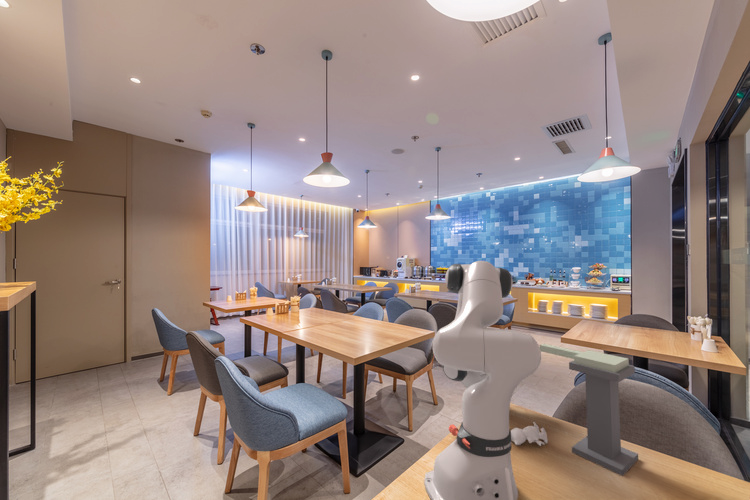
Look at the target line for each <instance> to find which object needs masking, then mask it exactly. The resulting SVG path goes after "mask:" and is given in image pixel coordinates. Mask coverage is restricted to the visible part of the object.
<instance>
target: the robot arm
mask: <svg viewBox="0 0 750 500" xmlns="http://www.w3.org/2000/svg"><path fill="white" fill-rule="evenodd" d="M444 279H445V285H446V288H447V289H448V291H449V292H451V293H453V294H457V295H458V299H457V306H456V312H455V317H454V320H452V321H451V322H450V323H449V324H447V325H445V326H443V327H441V328H439V329H438V331H437V332H436V333H435V335H434V336H433V337H434V338H433V339H432V340H433V341H432V352H433V356H434V357H435V360H436V361H437V362H438V364H439V365H441V367H442V371H443V373H444V375H445V376H446V377H447V378H448V379H450V380H451V381H454V382H460V383H461V385H462V386H463V387H464V388H466V389H465V390H464V391H463V394H462V399H461V400H462V404H461V407H462V409H461V411H462V421H461V423H460V426H459V428H457V427H456V425H455V424H450V425H449V427H448V431H449V433H451V435H452V436H453V437H456V438H455V440H453V441H452V442H451V443H450V444H448V446H446V447H445V448H444V449H443V450H442V451H441V452H440V453H439V454H437V456H436V457H435V460H434V465H433V469H432V470H430V471H427V472H425V475H424V480H423V481H424V486H425V491H426V493H427V495H428V496H429V499H431V500H518V498H519V491H518V486H517V484H516V480H515V477H514V471H513V464H512V456H511V451H512V446H513V445H512V442H513V441H512V440H511V429H510V409H511V408H510V407H511V402H512V401H511V400H512V397H513V394H514V393H515V391H516V389H517V387H519V386H520V384H521V383H522V382H523V381H524V380H526V379H527V378H528V377H531V376H532V375H534V374H535V373H536V372H537V371H538V369H539V367H540V365H541V362H542V351H540V344H539V343H538V342H537V340H536V339H535V338H534V337H533V335H531V334H530V333H526V332H522V331H519V330H514V329H507V328H506V329H505V328H492V327H491V326H492V325H493V326H494V325H495V324H496V323H497V322H499V320H500V319H501V318H502V316H503V315H504V303H503V299H504V298H506V297H508V296H509V295H510V294H511V291H512V289H513V285H514V284H513V283H514V282H513V277H512V274H511V272H510V271H509V270H508V269H506V268H502V267H495V266H494V264H492V263H490V262H489V261H486V260H477V261H473V262H472V263H469V264H468V263H467V264H461V263H453V264H451V265H449V266H448V269H447V271H446V273H445V276H444ZM490 327H491V328H490Z"/></svg>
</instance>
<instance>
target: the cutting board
mask: <svg viewBox="0 0 750 500" xmlns="http://www.w3.org/2000/svg"><path fill="white" fill-rule="evenodd" d="M539 347H540V351H541V353H542V352H543V353H547V354H551V355H556V356H559V357H564V358H567V359H571V360H573V361H574V363H578V364H582V365H586V366H590V367H594V368H598V369H602V370H606V371H610V372H614V373H616V372H618V371H620V370H622V369H623V368H625V367H627V366H629V365H630V363H629V362H630V361H629V358H628V357H623V356H619V355H613V354H608V353H605V352H604V353H603V352H600V351H593V350H585V351H581V350H575V349H571V348H566V347H563V346H562V347H561V346H557V345H552V344H547V343H542V344H539Z"/></svg>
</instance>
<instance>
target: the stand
mask: <svg viewBox="0 0 750 500" xmlns="http://www.w3.org/2000/svg"><path fill="white" fill-rule="evenodd" d="M568 368H569V370H571V371H574V372H579V373H583V374H585V375H584V377H585V403H586V432H587V433H586V434H587V435H585V437H583V438H582V439H580V440H579V441H578V442H576V443H575V444H574V445H572V446H571V452H572V453H573V454H575V455H577V456H579V457H580V458H583V459H586V460H587V461H590V462H591V463H594V464H596V465H598V466H601V467H602V468H604V469H606V470H609V471H611V472H613V473H615V474H617V475H619V476H621V477H623V476H625V474H626V473H627V471H629V470H630V469H631V467H633V466H634V465H635V463H636V462H637V461H638V460H639V453H637V452H634V451H632V450H630V449H628V448H625V447H622V443H621V442H622V441H621V420H620V419H621V418H620V416H621V415H620V392H619V391H620V390H619V389H620V388H619V383H620V382H622V381H624V380H625V379H627V378H629V377H631V376H632V375H634V374H635V371H636V369H635V365H632V364H629V366H627V367H625V368H623V369H622V370H620V371H618V372H616V373H614V372H610V371H606V370H602V369H598V368H594V367H590V366H586V365H582V364H578V363H574V360H571V361H569V362H568Z"/></svg>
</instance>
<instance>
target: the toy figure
mask: <svg viewBox="0 0 750 500" xmlns="http://www.w3.org/2000/svg"><path fill="white" fill-rule="evenodd" d="M532 423H533V425H528V426H525V427H524V428H518V427H515V426H514V428H513V429H510V431H511V442H513V443H514V444H515V446H521V445H522V444H524V443H525V442H526V441H528V443H529V444H532V443H536V444H537V445H538V446H539V447H542V445H543V446H544V445H545V444H548V443H549V442H548V433H547V431H546V429H545V428H544V426H543V427H541V428H540V427H539V425H538V424H537V423H536V422H535V421H533V422H532ZM540 431H541V432H540ZM541 440H543V441H541Z"/></svg>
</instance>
